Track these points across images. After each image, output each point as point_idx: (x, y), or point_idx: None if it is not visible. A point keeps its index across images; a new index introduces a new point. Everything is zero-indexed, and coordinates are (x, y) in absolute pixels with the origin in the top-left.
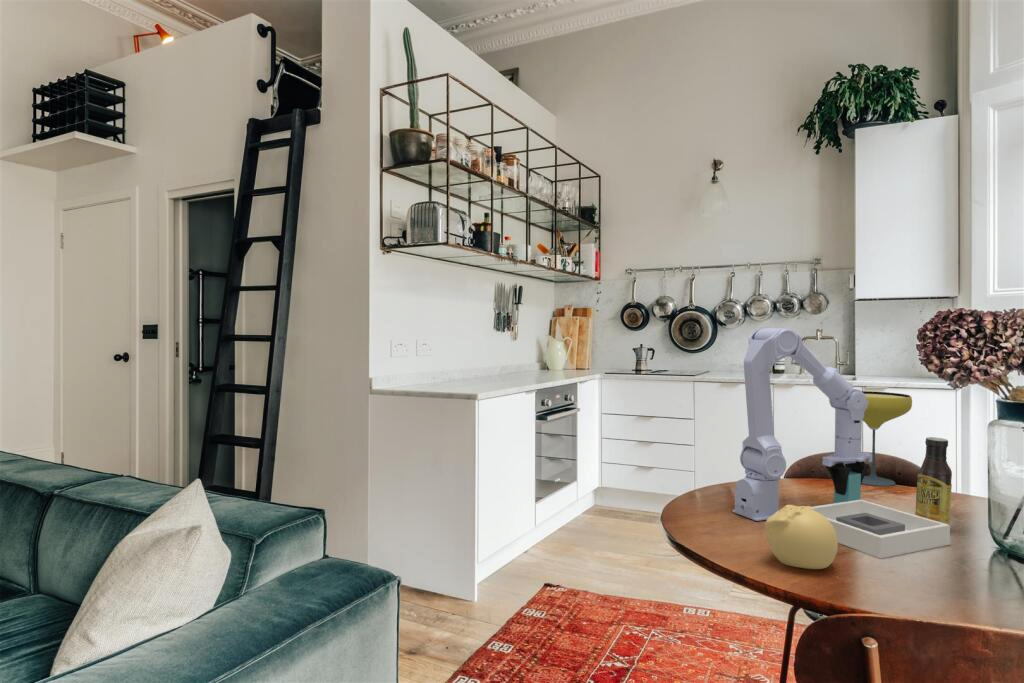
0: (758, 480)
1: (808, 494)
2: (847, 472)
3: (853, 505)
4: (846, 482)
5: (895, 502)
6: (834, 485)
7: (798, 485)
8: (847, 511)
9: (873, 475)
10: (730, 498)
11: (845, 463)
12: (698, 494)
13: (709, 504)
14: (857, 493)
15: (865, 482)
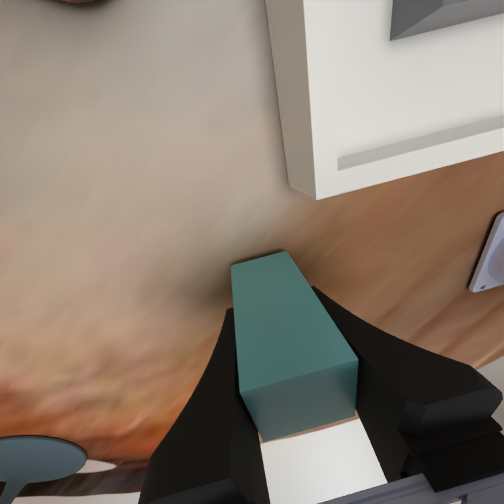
0: None
1: None
2: (404, 369)
3: (384, 155)
4: (338, 321)
5: (50, 321)
6: None
7: None
8: (402, 145)
9: (18, 481)
10: (450, 347)
11: (383, 491)
12: (474, 365)
13: None
14: (250, 292)
15: (62, 448)
